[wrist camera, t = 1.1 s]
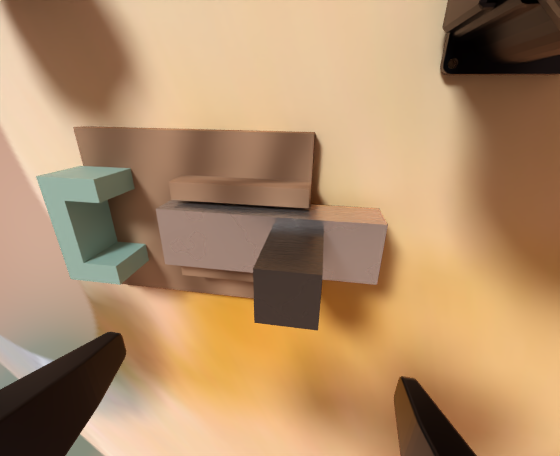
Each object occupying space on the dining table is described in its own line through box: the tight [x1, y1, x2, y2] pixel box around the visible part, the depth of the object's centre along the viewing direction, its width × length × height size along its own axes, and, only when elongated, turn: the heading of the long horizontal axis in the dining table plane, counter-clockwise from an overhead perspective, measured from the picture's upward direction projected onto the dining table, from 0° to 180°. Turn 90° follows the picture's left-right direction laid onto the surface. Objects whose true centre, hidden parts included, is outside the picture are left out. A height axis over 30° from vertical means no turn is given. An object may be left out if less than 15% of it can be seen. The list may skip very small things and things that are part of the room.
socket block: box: [36, 166, 149, 284], centre depth 20 cm, size 4×8×4 cm, turn 179°
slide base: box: [73, 126, 315, 298], centre depth 20 cm, size 17×13×3 cm
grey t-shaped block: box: [156, 200, 388, 330], centre depth 16 cm, size 14×4×8 cm, turn 89°
